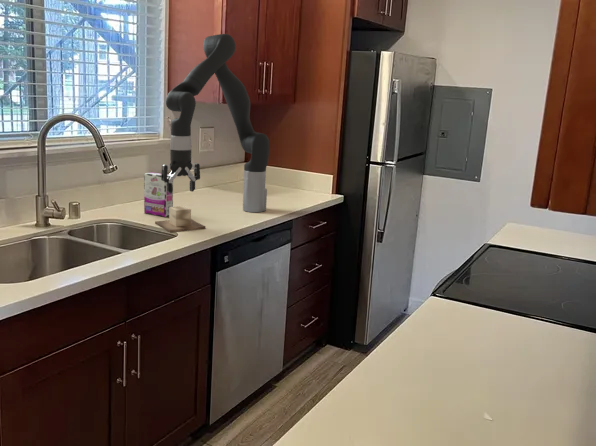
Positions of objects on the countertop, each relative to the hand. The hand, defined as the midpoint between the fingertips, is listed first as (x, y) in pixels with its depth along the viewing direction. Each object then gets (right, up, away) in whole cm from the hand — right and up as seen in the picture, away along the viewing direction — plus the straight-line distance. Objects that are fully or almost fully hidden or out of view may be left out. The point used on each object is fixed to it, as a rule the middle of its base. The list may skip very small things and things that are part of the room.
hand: (181, 192), depth 216 cm
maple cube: (-1, -12, +3) cm, 12 cm away
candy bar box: (-13, -8, +20) cm, 25 cm away
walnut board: (-1, -13, +3) cm, 13 cm away
